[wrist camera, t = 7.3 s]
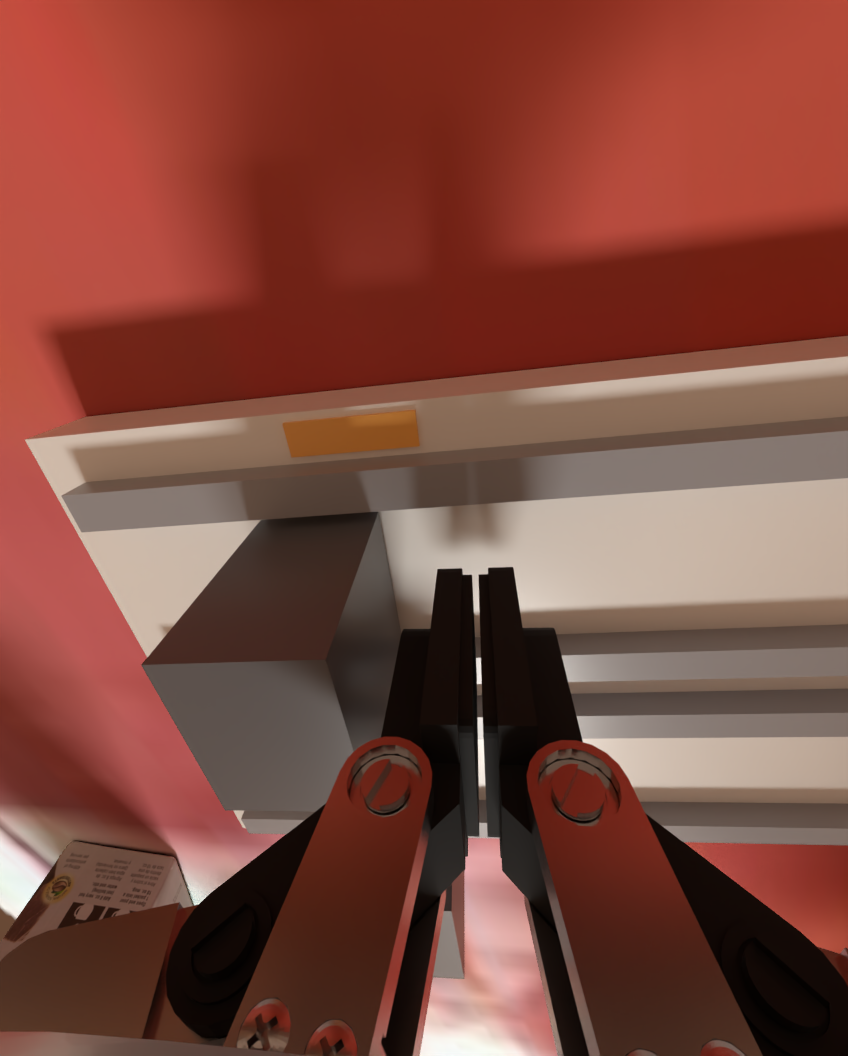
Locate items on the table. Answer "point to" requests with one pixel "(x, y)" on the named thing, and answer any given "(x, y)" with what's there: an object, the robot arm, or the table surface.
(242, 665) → the near tab
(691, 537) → the switch panel
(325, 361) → the table surface
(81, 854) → the coffee box
